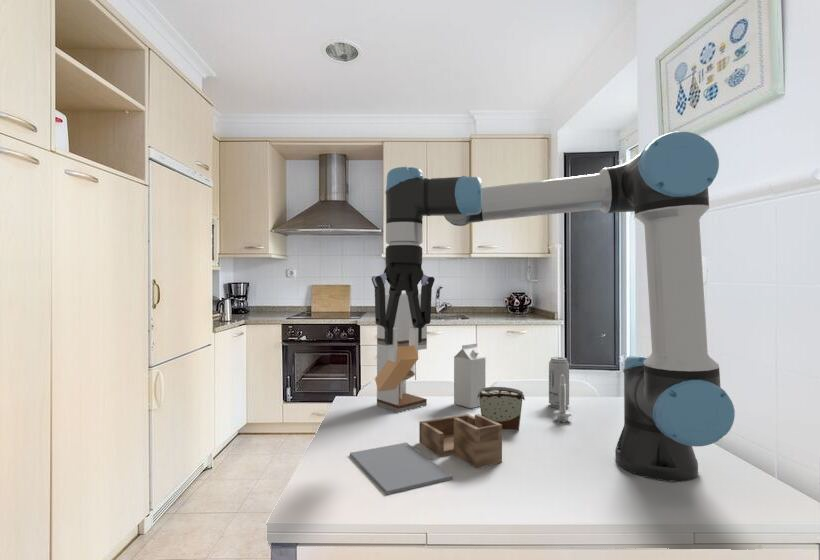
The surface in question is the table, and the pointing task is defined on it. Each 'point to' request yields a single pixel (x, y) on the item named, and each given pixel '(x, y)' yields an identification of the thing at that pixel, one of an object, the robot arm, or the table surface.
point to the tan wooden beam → (396, 368)
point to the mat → (399, 467)
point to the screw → (562, 402)
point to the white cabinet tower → (389, 398)
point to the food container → (502, 406)
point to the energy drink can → (558, 380)
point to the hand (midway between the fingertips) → (403, 359)
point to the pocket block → (464, 438)
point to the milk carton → (468, 376)
